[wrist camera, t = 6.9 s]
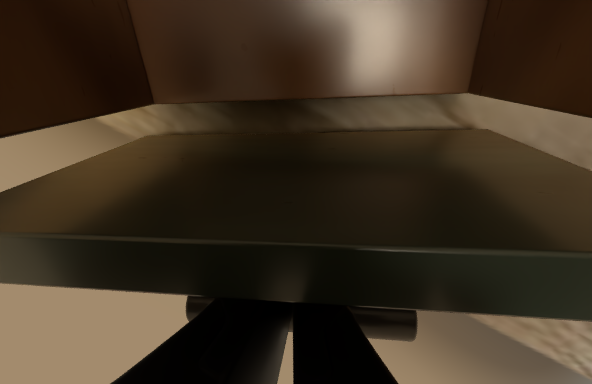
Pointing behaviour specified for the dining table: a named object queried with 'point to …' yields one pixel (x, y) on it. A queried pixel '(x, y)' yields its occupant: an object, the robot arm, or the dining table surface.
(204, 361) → the robot arm
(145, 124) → the dining table surface
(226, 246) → the drawer
